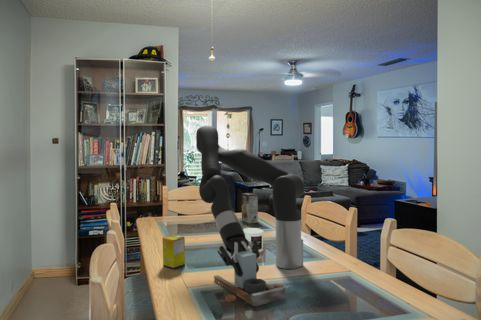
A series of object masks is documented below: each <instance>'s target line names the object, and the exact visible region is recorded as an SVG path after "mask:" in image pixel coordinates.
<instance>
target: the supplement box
mask: <svg viewBox="0 0 481 320" xmlns="http://www.w3.org/2000/svg"><path fill="white" fill-rule="evenodd" d="M185 248H186V245H185V236H183V235H178V234H172V235H168V236H165V237H162V267H163V268H166V269H170V270H177V269H179V268H183V267H185V266H186V251H185V250H186V249H185Z"/></svg>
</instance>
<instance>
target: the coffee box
mask: <svg viewBox="0 0 481 320" xmlns="http://www.w3.org/2000/svg"><path fill="white" fill-rule="evenodd" d="M258 197H259V194H256V193H253V192H244V193H241V221H242V222H244V223H246V224H255V223H256V224H257V223H259V217H258V216H259V215H258V214H259V213H258V211H259V210H258V209H259V204H258V203H259V202H258V201H259V199H258Z"/></svg>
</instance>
